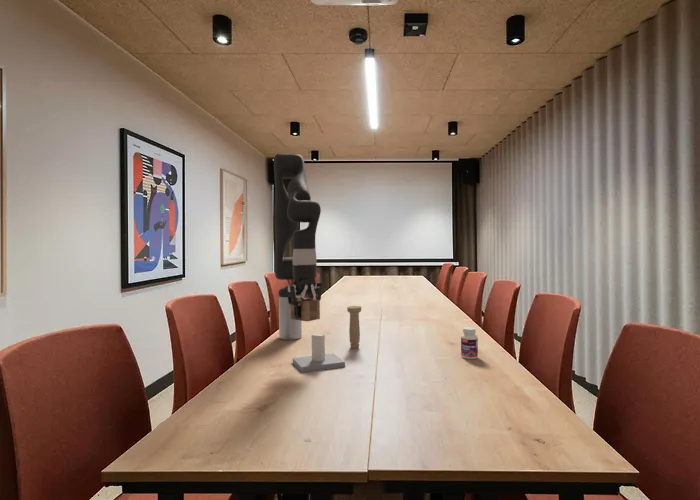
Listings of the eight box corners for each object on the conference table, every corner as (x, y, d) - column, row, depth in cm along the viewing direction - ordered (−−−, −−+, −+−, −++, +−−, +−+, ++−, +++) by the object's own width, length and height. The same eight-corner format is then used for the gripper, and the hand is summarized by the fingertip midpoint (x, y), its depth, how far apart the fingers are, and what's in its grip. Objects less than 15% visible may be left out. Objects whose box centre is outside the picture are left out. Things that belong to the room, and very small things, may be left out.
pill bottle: (460, 358, 135) (459, 329, 135) (462, 354, 140) (461, 326, 140) (477, 360, 133) (476, 330, 133) (478, 355, 138) (478, 327, 138)
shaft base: (292, 362, 133) (292, 333, 133) (333, 357, 138) (333, 329, 138) (301, 372, 122) (301, 340, 122) (345, 366, 128) (344, 336, 128)
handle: (363, 345, 154) (363, 306, 153) (357, 350, 148) (357, 308, 148) (352, 344, 156) (351, 305, 155) (345, 348, 150) (344, 308, 149)
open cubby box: (290, 319, 130) (290, 299, 130) (303, 316, 134) (303, 297, 134) (307, 321, 125) (306, 301, 125) (319, 318, 129) (319, 299, 129)
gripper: (312, 262, 137) (312, 312, 137) (279, 264, 126) (280, 318, 126) (328, 262, 132) (329, 314, 133) (295, 264, 121) (296, 321, 122)
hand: (305, 316), depth 129 cm, fingers closed on open cubby box, 5 cm apart
